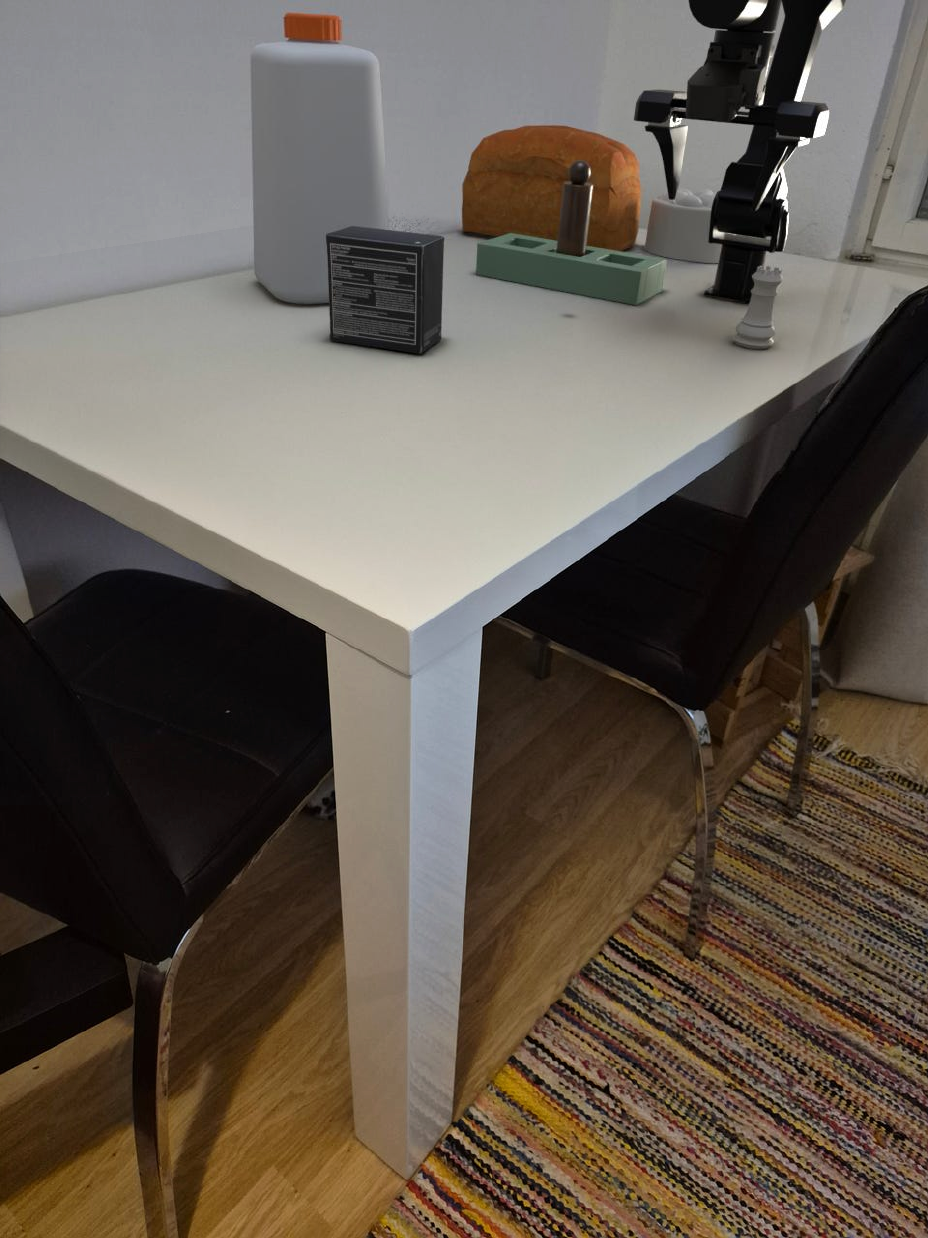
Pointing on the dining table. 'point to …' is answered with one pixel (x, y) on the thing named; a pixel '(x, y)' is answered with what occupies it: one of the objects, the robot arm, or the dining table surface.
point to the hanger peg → (575, 211)
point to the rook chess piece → (759, 311)
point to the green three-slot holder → (571, 268)
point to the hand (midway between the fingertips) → (712, 204)
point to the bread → (550, 185)
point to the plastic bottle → (313, 152)
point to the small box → (385, 288)
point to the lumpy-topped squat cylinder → (682, 227)
